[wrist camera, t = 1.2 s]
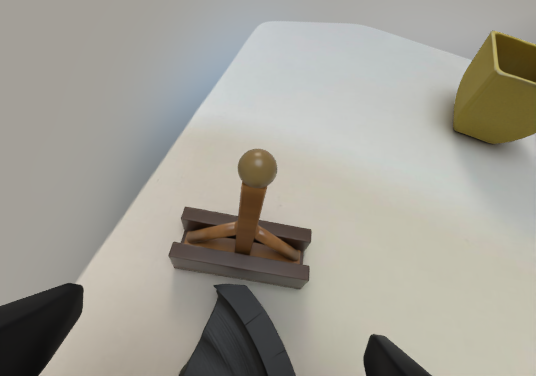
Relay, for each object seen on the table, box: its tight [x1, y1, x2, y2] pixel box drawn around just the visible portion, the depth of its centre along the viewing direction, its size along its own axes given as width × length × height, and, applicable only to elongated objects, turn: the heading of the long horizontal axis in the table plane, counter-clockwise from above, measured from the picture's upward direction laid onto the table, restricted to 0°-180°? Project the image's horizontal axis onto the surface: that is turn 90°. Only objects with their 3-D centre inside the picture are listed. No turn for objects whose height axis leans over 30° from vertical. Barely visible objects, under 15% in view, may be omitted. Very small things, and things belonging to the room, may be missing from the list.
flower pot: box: [453, 31, 536, 144], centre depth 32 cm, size 9×9×9 cm
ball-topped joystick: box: [184, 149, 300, 264], centre depth 17 cm, size 2×9×13 cm, turn 82°
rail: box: [169, 207, 311, 289], centre depth 22 cm, size 4×10×3 cm, turn 82°
